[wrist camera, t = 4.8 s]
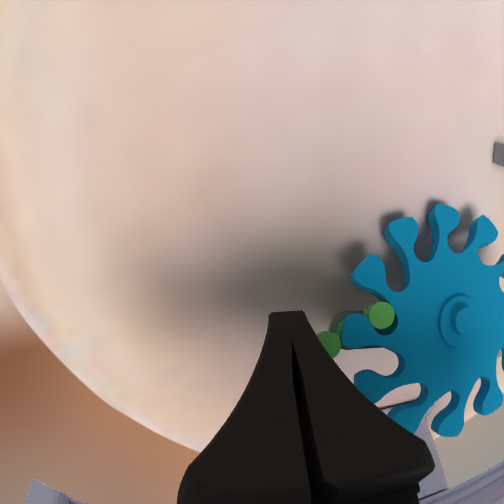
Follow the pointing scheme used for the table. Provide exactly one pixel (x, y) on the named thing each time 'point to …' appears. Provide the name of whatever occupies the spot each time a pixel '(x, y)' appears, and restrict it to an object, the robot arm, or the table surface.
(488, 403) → the gear
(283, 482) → the robot arm
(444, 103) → the table surface
